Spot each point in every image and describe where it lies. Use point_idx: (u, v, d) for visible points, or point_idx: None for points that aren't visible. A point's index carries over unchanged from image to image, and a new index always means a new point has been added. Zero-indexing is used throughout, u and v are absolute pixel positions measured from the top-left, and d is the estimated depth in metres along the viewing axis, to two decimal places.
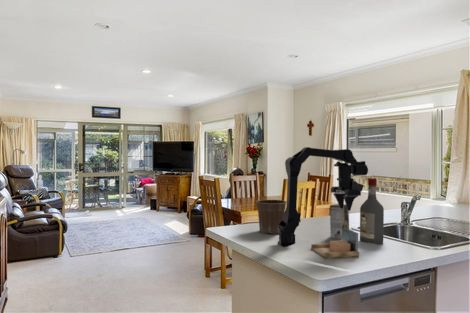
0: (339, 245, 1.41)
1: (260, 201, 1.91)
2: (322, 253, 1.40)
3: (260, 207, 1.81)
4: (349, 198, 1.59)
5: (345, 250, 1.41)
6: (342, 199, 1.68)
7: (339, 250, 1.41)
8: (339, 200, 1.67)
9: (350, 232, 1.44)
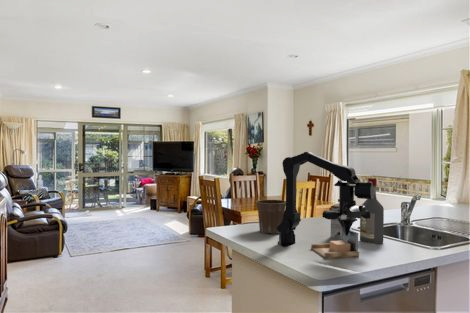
0: (339, 245, 1.41)
1: (260, 201, 1.91)
2: (322, 253, 1.40)
3: (260, 207, 1.81)
4: (343, 221, 1.44)
5: (345, 250, 1.41)
6: (347, 225, 1.44)
7: (339, 250, 1.41)
8: None
9: (350, 232, 1.44)
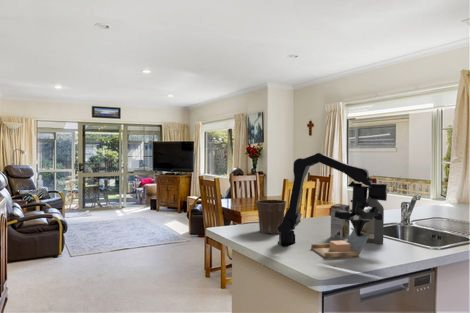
0: (339, 245, 1.41)
1: (260, 201, 1.91)
2: (322, 253, 1.40)
3: (260, 207, 1.81)
4: (355, 222, 1.45)
5: (345, 250, 1.41)
6: (359, 226, 1.45)
7: (339, 250, 1.41)
8: None
9: (360, 234, 1.44)
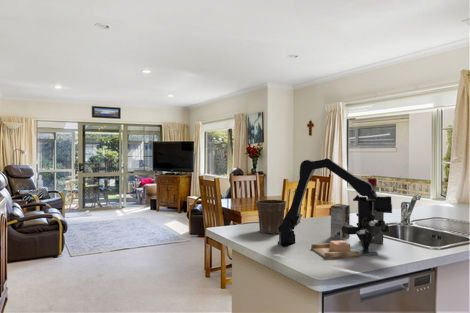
0: (339, 245, 1.41)
1: (260, 201, 1.91)
2: (322, 253, 1.40)
3: (260, 207, 1.81)
4: (361, 235, 1.46)
5: (345, 250, 1.41)
6: (367, 239, 1.46)
7: (339, 250, 1.41)
8: None
9: (369, 249, 1.45)
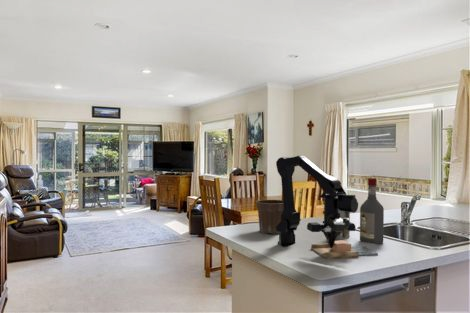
0: (340, 245, 1.41)
1: (260, 201, 1.91)
2: (322, 253, 1.40)
3: (260, 207, 1.81)
4: None
5: (346, 250, 1.41)
6: (332, 237, 1.43)
7: (340, 250, 1.41)
8: None
9: (369, 250, 1.45)
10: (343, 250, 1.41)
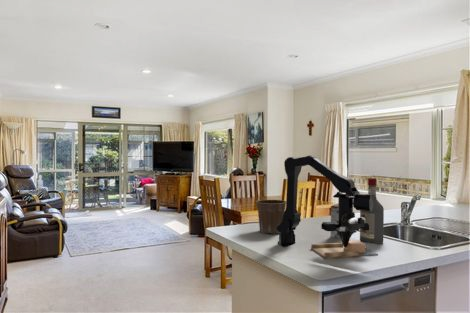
0: (354, 245, 1.42)
1: (260, 201, 1.91)
2: (322, 253, 1.40)
3: (260, 207, 1.81)
4: (341, 233, 1.44)
5: (360, 250, 1.42)
6: (346, 237, 1.44)
7: (354, 250, 1.42)
8: None
9: (369, 250, 1.45)
10: (357, 250, 1.42)
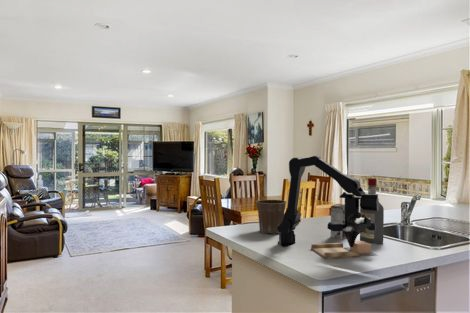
0: (360, 245, 1.42)
1: (260, 201, 1.91)
2: (322, 253, 1.40)
3: (260, 207, 1.81)
4: (347, 233, 1.45)
5: (366, 250, 1.43)
6: (352, 237, 1.44)
7: (360, 250, 1.42)
8: None
9: None
10: (363, 250, 1.42)
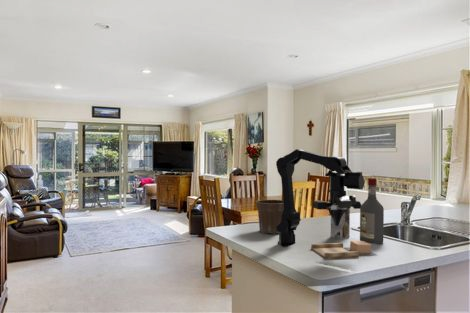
0: (360, 245, 1.42)
1: (260, 201, 1.91)
2: (322, 253, 1.40)
3: (260, 207, 1.81)
4: (333, 211, 1.43)
5: (366, 250, 1.43)
6: (338, 215, 1.43)
7: (360, 250, 1.42)
8: None
9: None
10: (363, 250, 1.42)
